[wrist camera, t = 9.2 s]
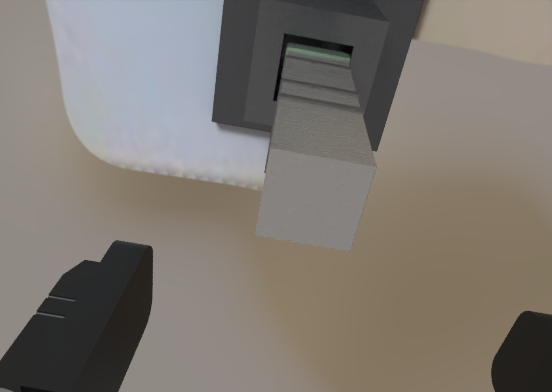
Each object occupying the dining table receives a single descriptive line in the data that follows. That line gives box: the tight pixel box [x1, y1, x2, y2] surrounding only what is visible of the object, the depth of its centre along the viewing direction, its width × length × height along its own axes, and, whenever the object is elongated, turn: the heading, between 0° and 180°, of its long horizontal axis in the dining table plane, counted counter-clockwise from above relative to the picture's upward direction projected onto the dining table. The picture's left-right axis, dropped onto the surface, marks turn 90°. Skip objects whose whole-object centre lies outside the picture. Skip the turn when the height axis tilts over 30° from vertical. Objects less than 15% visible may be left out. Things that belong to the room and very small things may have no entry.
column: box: [255, 42, 376, 252], centre depth 26 cm, size 4×4×18 cm
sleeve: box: [212, 0, 424, 151], centre depth 37 cm, size 16×16×8 cm
